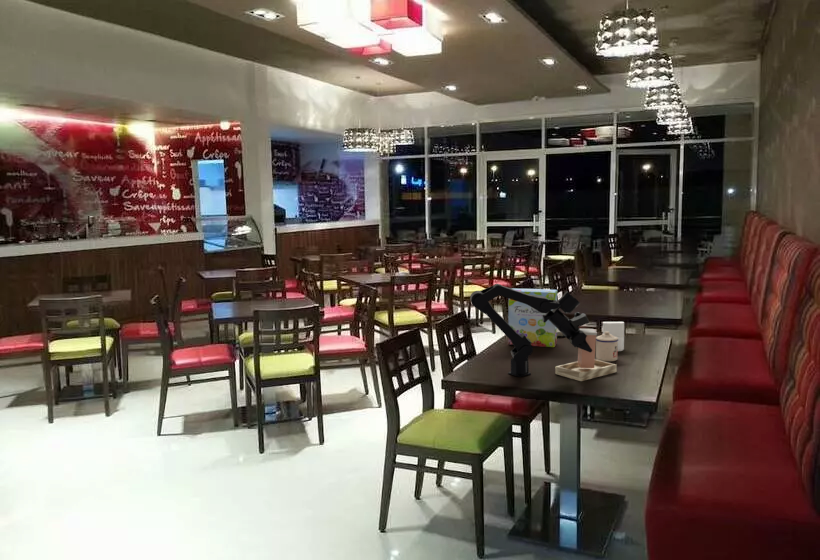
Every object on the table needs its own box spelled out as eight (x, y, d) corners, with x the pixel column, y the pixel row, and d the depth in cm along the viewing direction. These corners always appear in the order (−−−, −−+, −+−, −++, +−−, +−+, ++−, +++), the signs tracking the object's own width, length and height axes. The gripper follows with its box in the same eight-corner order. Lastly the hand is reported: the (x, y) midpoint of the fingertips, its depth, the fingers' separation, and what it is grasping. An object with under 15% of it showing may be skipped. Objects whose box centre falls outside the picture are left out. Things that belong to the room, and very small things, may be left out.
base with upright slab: (621, 346, 302) (621, 320, 300) (625, 351, 293) (626, 324, 291) (601, 346, 303) (601, 320, 301) (604, 351, 294) (605, 324, 292)
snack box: (507, 345, 310) (507, 290, 306) (510, 341, 318) (510, 287, 314) (555, 347, 303) (555, 291, 299) (557, 343, 311) (557, 288, 308)
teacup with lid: (617, 362, 275) (618, 334, 274) (594, 361, 278) (595, 333, 276) (618, 355, 287) (618, 328, 285) (596, 354, 289) (596, 327, 288)
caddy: (580, 368, 257) (582, 332, 255) (576, 363, 264) (578, 328, 262) (595, 368, 257) (597, 332, 255) (590, 363, 264) (592, 328, 262)
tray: (581, 381, 250) (581, 373, 250) (555, 373, 261) (555, 366, 260) (616, 372, 261) (616, 364, 261) (590, 365, 272) (590, 358, 271)
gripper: (581, 311, 248) (610, 340, 249) (571, 303, 267) (598, 329, 268) (559, 332, 250) (589, 361, 251) (551, 322, 268) (578, 349, 269)
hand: (589, 349), depth 260 cm, fingers closed on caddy, 6 cm apart
